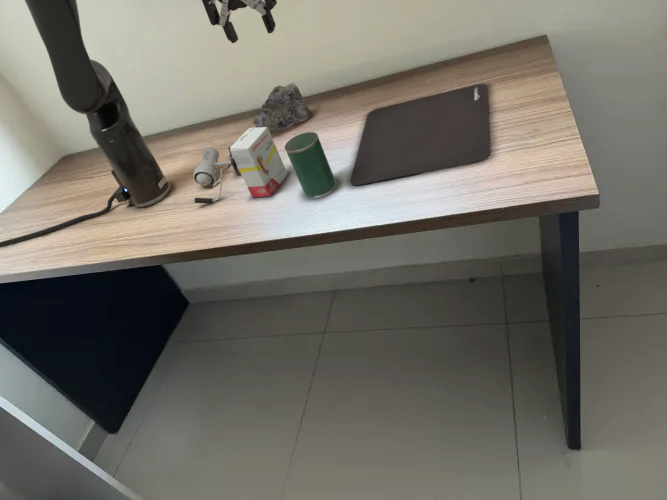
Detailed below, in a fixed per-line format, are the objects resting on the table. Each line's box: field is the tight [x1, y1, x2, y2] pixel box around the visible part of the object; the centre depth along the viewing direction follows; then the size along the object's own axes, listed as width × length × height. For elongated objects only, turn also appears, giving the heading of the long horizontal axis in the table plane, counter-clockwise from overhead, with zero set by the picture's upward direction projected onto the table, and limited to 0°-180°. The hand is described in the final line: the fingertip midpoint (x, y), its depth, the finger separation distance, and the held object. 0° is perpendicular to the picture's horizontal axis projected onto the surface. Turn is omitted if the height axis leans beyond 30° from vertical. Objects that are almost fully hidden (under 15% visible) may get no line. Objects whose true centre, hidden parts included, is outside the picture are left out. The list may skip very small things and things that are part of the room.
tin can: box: [284, 131, 338, 200], centre depth 123 cm, size 7×7×11 cm
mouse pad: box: [349, 83, 491, 186], centre depth 130 cm, size 32×27×1 cm
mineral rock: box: [252, 82, 311, 135], centre depth 154 cm, size 13×11×10 cm
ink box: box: [229, 127, 289, 199], centre depth 131 cm, size 9×5×12 cm, turn 156°
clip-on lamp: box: [190, 146, 241, 205], centre depth 142 cm, size 12×6×18 cm
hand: (253, 36), depth 130 cm, fingers open, 8 cm apart
